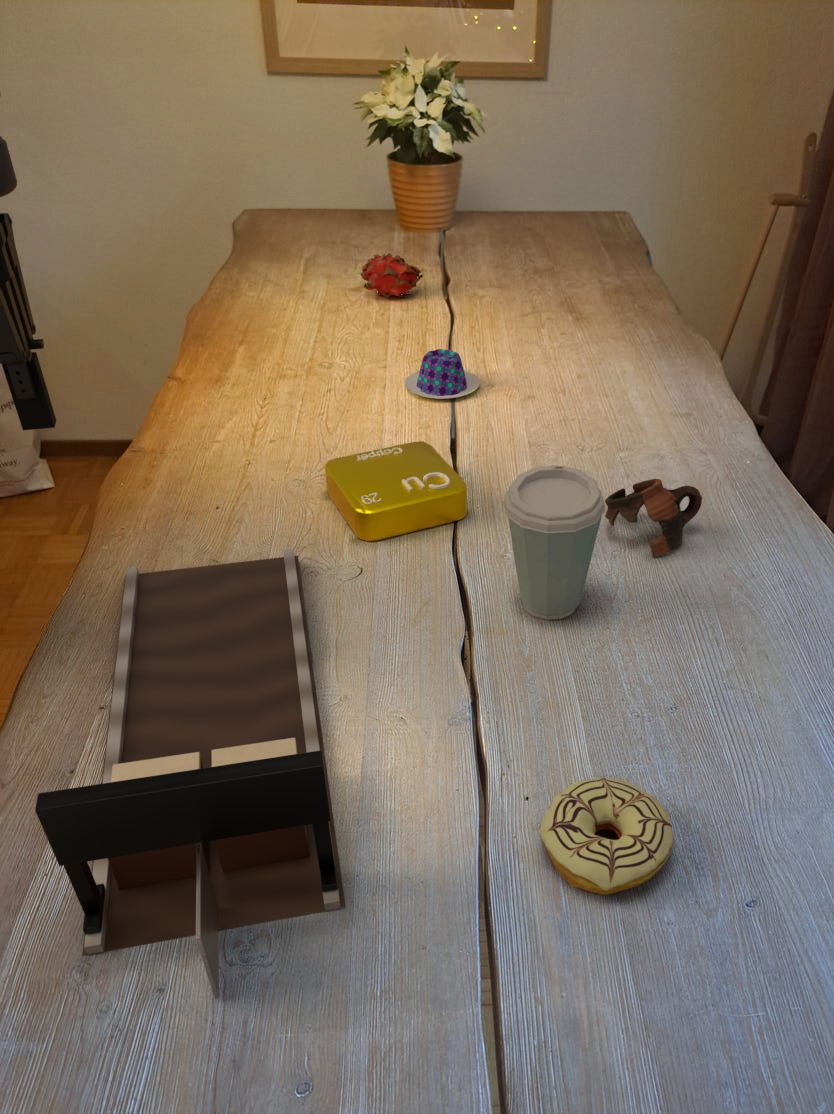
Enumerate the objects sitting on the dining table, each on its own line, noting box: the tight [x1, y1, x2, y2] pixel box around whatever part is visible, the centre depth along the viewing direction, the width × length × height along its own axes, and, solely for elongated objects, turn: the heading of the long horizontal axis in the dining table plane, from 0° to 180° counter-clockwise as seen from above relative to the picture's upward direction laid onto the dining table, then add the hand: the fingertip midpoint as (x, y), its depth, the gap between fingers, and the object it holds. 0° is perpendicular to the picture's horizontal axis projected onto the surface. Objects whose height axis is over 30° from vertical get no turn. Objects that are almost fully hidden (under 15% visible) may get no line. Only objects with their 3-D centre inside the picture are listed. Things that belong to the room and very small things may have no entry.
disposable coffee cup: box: [502, 465, 606, 621], centre depth 101 cm, size 11×11×15 cm
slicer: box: [34, 750, 338, 1000], centre depth 67 cm, size 11×19×14 cm, turn 103°
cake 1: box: [107, 752, 210, 889], centre depth 77 cm, size 9×7×5 cm
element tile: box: [324, 440, 468, 542], centre depth 121 cm, size 15×15×5 cm
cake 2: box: [212, 738, 310, 871], centre depth 78 cm, size 9×7×5 cm
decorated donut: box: [539, 777, 674, 896], centre depth 78 cm, size 10×11×4 cm
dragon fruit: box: [360, 252, 423, 299], centre depth 181 cm, size 8×8×12 cm
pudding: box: [404, 348, 481, 400], centre depth 149 cm, size 12×12×5 cm
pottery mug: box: [604, 478, 703, 558], centre depth 116 cm, size 12×10×8 cm
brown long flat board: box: [81, 548, 346, 957], centre depth 90 cm, size 50×20×2 cm, turn 13°
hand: (39, 425), depth 85 cm, fingers closed
